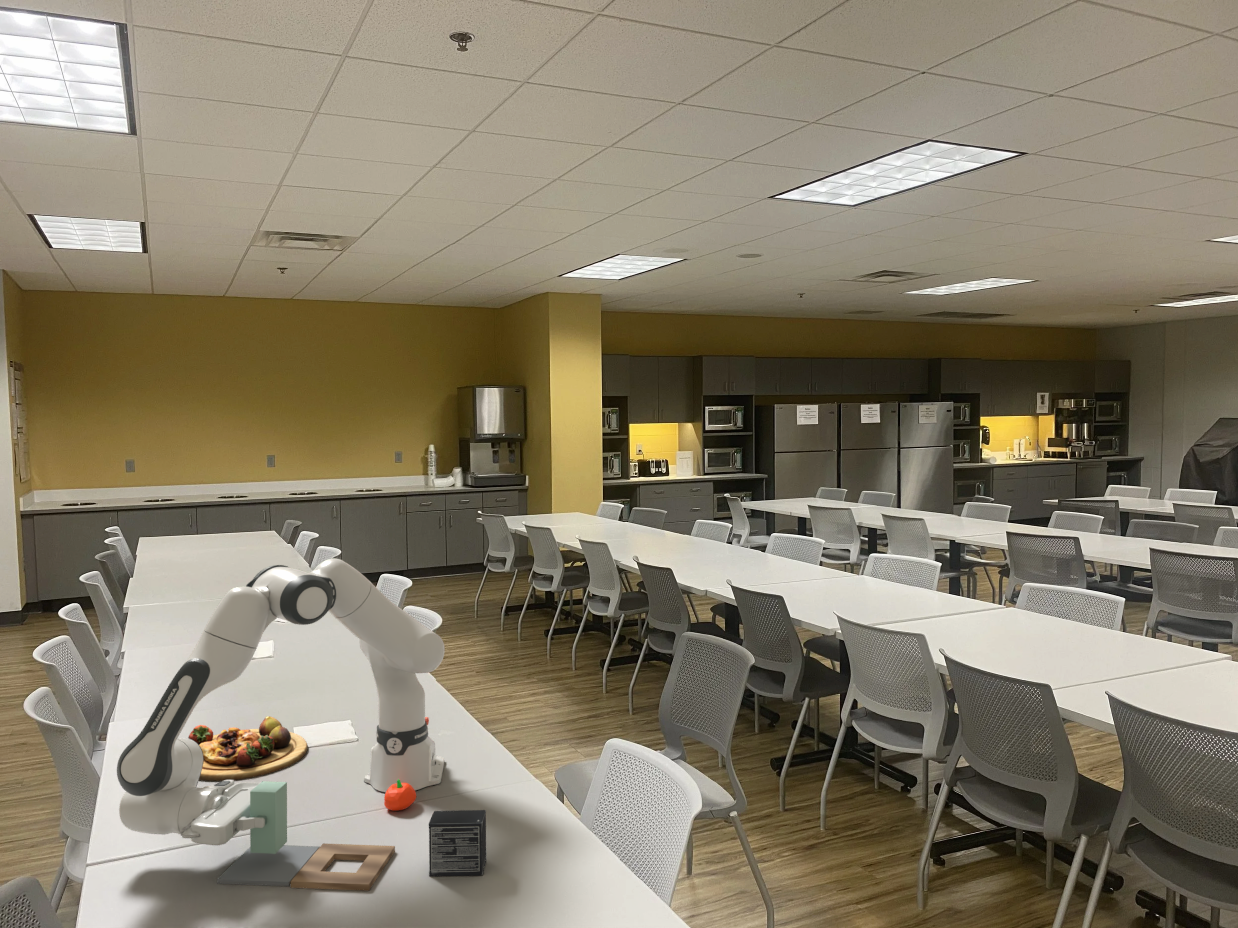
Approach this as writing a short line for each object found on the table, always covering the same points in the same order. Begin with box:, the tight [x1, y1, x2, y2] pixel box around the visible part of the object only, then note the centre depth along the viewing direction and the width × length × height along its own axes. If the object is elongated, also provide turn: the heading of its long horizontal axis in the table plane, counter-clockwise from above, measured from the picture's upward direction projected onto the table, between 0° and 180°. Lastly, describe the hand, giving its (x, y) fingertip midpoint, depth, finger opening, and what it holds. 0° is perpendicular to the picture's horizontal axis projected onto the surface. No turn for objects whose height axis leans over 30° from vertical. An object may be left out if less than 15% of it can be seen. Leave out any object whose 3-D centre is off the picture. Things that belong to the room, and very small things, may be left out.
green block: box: [249, 780, 288, 854], centre depth 170 cm, size 5×5×12 cm
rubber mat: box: [216, 844, 321, 887], centre depth 171 cm, size 14×14×1 cm
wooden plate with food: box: [187, 716, 308, 782], centre depth 228 cm, size 32×32×8 cm
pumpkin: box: [383, 779, 417, 812], centre depth 197 cm, size 7×8×6 cm
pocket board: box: [290, 842, 396, 892], centre depth 170 cm, size 15×15×1 cm
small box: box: [428, 809, 487, 877], centre depth 170 cm, size 11×6×10 cm, turn 92°
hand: (273, 814), depth 170 cm, fingers closed on green block, 5 cm apart
